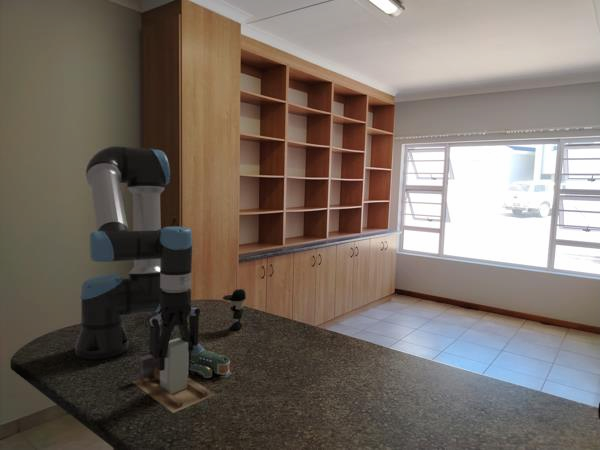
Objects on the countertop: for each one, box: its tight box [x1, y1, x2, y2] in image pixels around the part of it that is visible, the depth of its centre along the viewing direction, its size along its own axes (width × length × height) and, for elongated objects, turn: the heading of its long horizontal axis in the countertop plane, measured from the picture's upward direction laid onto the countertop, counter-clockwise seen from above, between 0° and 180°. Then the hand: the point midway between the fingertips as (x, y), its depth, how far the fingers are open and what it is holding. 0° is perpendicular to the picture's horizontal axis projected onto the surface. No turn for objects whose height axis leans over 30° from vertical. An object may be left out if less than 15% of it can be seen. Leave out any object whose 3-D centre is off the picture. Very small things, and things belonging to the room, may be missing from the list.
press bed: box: [132, 354, 217, 414], centre depth 104 cm, size 20×12×7 cm, turn 48°
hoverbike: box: [188, 342, 232, 379], centre depth 117 cm, size 10×25×8 cm, turn 65°
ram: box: [160, 337, 189, 394], centre depth 104 cm, size 5×5×12 cm
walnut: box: [153, 367, 160, 381], centre depth 108 cm, size 4×4×4 cm
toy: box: [222, 288, 247, 331], centre depth 151 cm, size 8×8×15 cm
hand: (174, 377), depth 104 cm, fingers closed on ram, 5 cm apart
